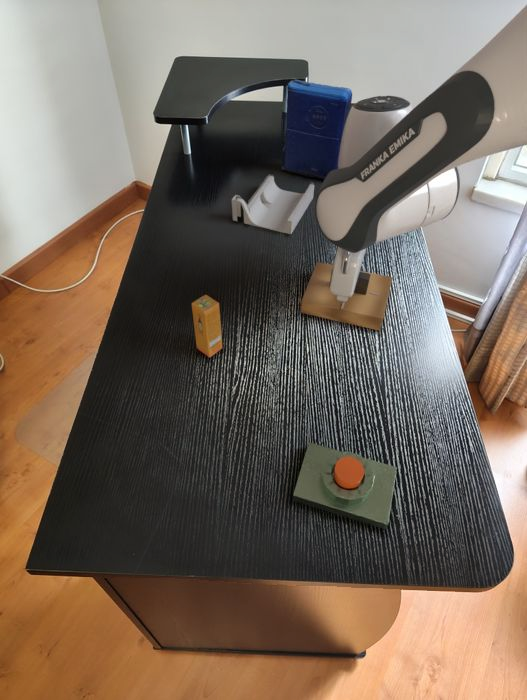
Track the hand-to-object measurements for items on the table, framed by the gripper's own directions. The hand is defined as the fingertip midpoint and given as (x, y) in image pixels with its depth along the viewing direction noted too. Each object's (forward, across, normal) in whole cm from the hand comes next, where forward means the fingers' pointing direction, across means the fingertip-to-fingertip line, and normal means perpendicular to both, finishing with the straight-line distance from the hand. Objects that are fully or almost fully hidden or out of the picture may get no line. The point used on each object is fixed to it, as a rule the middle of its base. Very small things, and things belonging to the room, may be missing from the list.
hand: (348, 280), depth 82 cm
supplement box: (+5, -18, +19) cm, 26 cm away
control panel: (+5, 0, 0) cm, 5 cm away
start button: (+2, -35, -7) cm, 36 cm away
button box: (+5, -35, -7) cm, 36 cm away
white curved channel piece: (+5, +24, +21) cm, 32 cm away
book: (+5, +41, +17) cm, 45 cm away
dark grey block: (+2, 0, 0) cm, 2 cm away
